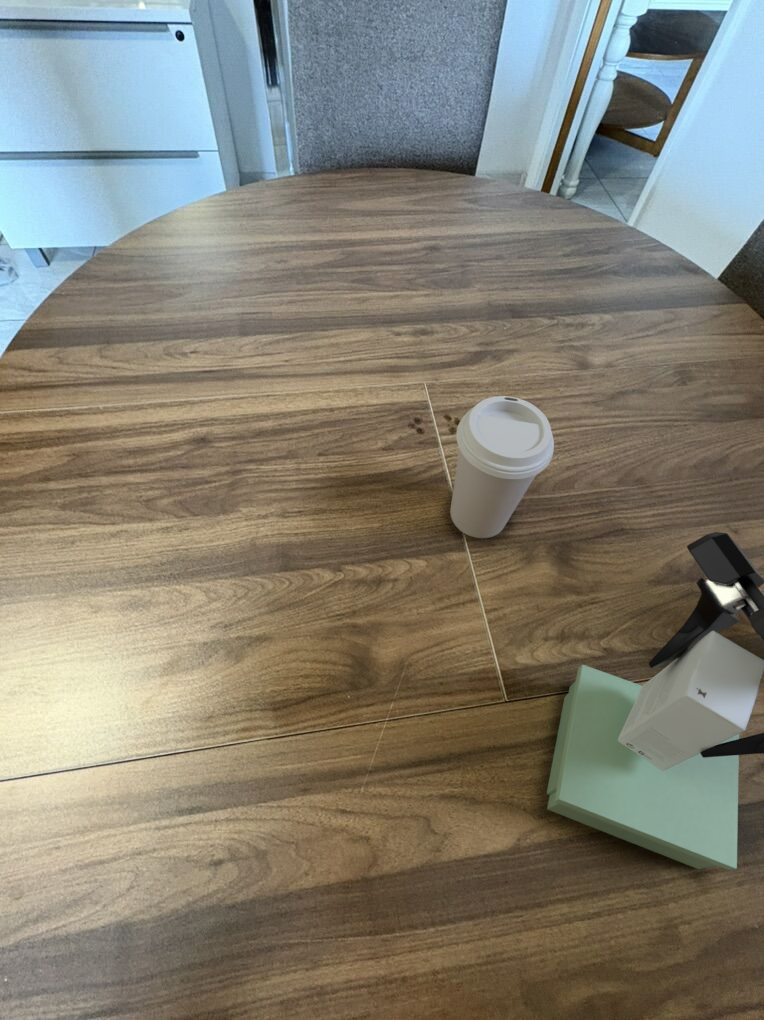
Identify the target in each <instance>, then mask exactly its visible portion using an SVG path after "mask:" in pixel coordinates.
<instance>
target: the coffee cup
mask: <svg viewBox="0 0 764 1020" xmlns="http://www.w3.org/2000/svg"><path fill="white" fill-rule="evenodd" d="M455 436H456V437H455V438H456V443H457V446H458V451H457V460H456V469H455V475H454V482H453V489H452V496H451V504H450V512H449V513H450V518H451V521H452V523H453V524H454V526H455V527H456V528H457V529H458V530H459V531H460V532H462V533H463V534H464V535H467V536H468V537H471V538H476V539H489V538H492V537H495V536H498V534H500V533H501V532H502V531H503V529H504V528H505V527H506V525H507V524H508V521H509V520H510V518H511V517H512V515H513V513H514V512H515V510H516V509H517V507H518V506H519V504H520V502H521V501H522V499H523V497H524V495H525V494H526V492H527V491H528V489H529V487H530V486H531V485H532V483H533V482H534V480H535V478H536V477H537V475H538V474H540V473H541V472H543V471H544V470H545V469H546V468H547V467H548V466H549V465H550V464H551V461H552V459H553V456H554V450H555V441H554V435H553V432H552V427H551V423H550V421H549V419H548V418H547V416H546V415H545V414H544V413H543V411H541V409H539V408H538V407H537V406H536V405H534V404H533V403H531V402H528V401H527V400H524V399H522V398H518V397H515V396H510V395H509V396H508V395H498V396H492V397H487V398H485V399H483V400H481V401H479V402H478V403H477V404H476V405H474V406H473V407H472V408H470V409H469V410H468V411H467V412H466V413H465V414H464V415H463V417H462V418H461V419H460V421H459V423H458V424H457V428H456V434H455Z"/></svg>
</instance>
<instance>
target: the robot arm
mask: <svg viewBox="0 0 764 1020" xmlns="http://www.w3.org/2000/svg"><path fill="white" fill-rule="evenodd" d="M686 548H687V550H688V552H689V553H690V555H691V556H692V558H693V559H694V561H695V562H696V564H697V565H698V567H699V568H700V570H701V571H702V572H703V574H704V576H706V579H704V578H702V577H700V578H699V579H698V580H697V581H696V586H697V587H698V588H699V590H700V593H701V594H700V597H699V599H698V601H697V604H696V606H695V608H694V609H693V611H692V612H691V614H690V615H689V617H688V618H687V620H686V621H685V622H684V623H683V625H682V626H681V627H680V628H679V630H678V631H677V632H676V633H675V634H674V635H673V636H672V637H671V638H670V639H669V640H668V641H667V642H666V643H665V645H664V646H663V647H662V648H661V649H660V650H659V651H658V652H657V653H656V654H655V655H654V657H653V658H651V660H650V661H649V662H648V667H649V668H650V669H654V670H655V669H658V668H660V667H662V666H665V665H667V664H670V663H672V662H673V661H674V660H676V659H677V658H679V657H680V656H681V655H682V654H683V653H684V652H686V651H687V650H688V649H689V648H691V647H692V646H693V645H695V644H696V643H697V642H698V641H700V640H701V639H702V638H703V637H705V636H706V635H707V634H709V633H710V632H711V631H716V632H717V633H719V634H721V633H722V632H725V631H726V630H727V629H728V630H729V628H731V627H733V626H734V625H736V624H738V623H739V622H741V620H740V618H739V617H738V616H737V613H739V614H742V613H743V614H744V615H745V616H746V618H747V619H748V621H749V623H750V624H751V627H752V629H753V630H754V632H755V633H756V634H757V636H760V638H761V639H762V641H764V593H763V592H762V590H761V589H760V588H761V586H764V577H763V576H762V574H761V573H760V572H759V571H758V569H757V568H756V566H755V565H754V564H753V562H752V561H751V560H750V559H749V558H748V556H747V555H746V553H745V552H744V550H743V549H742V548H741V546H740V545H739V544H738V543H737V542H736V540H734V539H733V538H732V537H731V535H729V534H728V533H727V532H721V531H714V532H710V533H707V534H704V535H703V536H701V537H700V538H698V539H696V540H694V541H693V542H691V543H689V544H687V545H686ZM700 754H701V756H702V757H703V758H706V757H719V756H733V755H739V756H745V755H759V754H760V755H761V754H764V732H761V733H757V734H752V735H749V736H746V737H745V736H744V737H742V738H739V739H737V740H733V741H729V742H725V743H721V744H718V745H715V746H713V747H711V748H708V749H706V750H704V751H701V752H700Z"/></svg>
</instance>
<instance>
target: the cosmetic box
mask: <svg viewBox="0 0 764 1020" xmlns="http://www.w3.org/2000/svg"><path fill="white" fill-rule="evenodd" d="M763 677H764V659H762V658H760V657H759V656H757V655H756V654H754V653H752V652H751V651H749V650H747V649H745V648H744V647H742V646H740V645H738V644H737V643H735V642H733V641H732V640H730V639H728V638H727V637H725V636H723V635H722V634H721V633H717V632H716V631H711V632H710V633H709V634H707V635H706V636H705V637H703V638H702V639H701V640H700V641H698V642H697V643H696V644H695V645H693V646H692V647H691V648H689V649H688V650H687V651H686V652H684V653H683V654H682V655H681V656H680V657H679V658H677V659H675V660H674V661H672V662H670V663H668V665H666V666H665V667H664V668H663V669H662V670H660V671H659V672H658V673H657V674H655V675H654V676H653V677H651V679H649V680H648V681H646V682H645V683H644V684H643V685H641V686H642V688H641V690H640V692H639V694H638V697H637V699H636V701H635V703H634V705H633V707H632V709H631V712H630V714H629V716H628V718H627V720H626V722H625V725H624V727H623V729H622V731H621V733H620V736H619V738H618V742H620V743H621V744H623V745H624V746H626V747H627V748H629V749H630V750H632V751H633V752H635V753H636V754H638V755H639V756H641V757H642V758H644V759H645V760H647V761H648V762H650V763H651V764H653V765H654V766H656V767H657V768H659V769H660V770H662V771H665V770H667V769H669V768H671V767H673V766H675V765H677V764H679V763H681V762H683V761H685V760H687V759H689V758H691V757H693V756H695V755H697V754H699V753H700V752H701V751H704V750H706V749H708V748H711V747H713V746H715V745H717V744H719V743H721V742H723V741H725V740H727V739H729V738H731V737H733V736H735V735H737V734H739V735H740V734H741V733H743V732H745V731H746V730H747V727H748V724H749V720H750V719H751V715H752V711H753V709H754V706H755V703H756V699H757V697H758V692H759V689H760V687H761V683H762V681H763Z"/></svg>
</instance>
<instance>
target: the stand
mask: <svg viewBox="0 0 764 1020" xmlns="http://www.w3.org/2000/svg"><path fill="white" fill-rule="evenodd" d="M642 686H643V685H641V684H639V683H636V682H633V681H630V680H627V679H624V678H623V677H622V678H621V677H620V676H616V675H613V674H611V673H609V672H605V671H602V670H600V669H597V668H594V667H591V666H588V665H586V664H581V666H579V667H578V668H577V674H576V679H575V681H574V682H573V683H572V684H571V685H570V686H569V690H568V693H567V694H566V695H565V696H564V698H563V704H562V709H561V714H560V720H559V725H558V729H557V735H556V742H555V747H554V751H553V752H554V753H553V757H552V762H551V768H550V774H549V777H548V784H547V788H546V794H547V795H549V797H548V802H547V809H546V810H547V811H551V812H553V813H554V814H555V813H556V814H558V815H560V816H563V817H565V818H568V819H570V820H573V821H575V822H579V823H580V824H583V825H586V826H588V827H590V828H593V829H596V830H597V831H600V832H603V833H607V835H611V836H613V837H615V838H617V839H621V840H623V841H625V842H629V843H631V844H634V845H636V846H639V847H642V848H643V849H646V850H648V851H651V852H654V853H656V854H659V855H662V856H664V857H667V858H669V859H671V860H674V861H676V862H678V863H682V864H684V865H686V866H689V867H692V868H694V869H696V870H701V869H706V868H713V867H719V868H722V869H724V870H726V871H733V870H737V869H738V827H739V826H738V823H739V821H738V819H739V817H738V816H739V767H740V764H739V762H740V761H739V759H740V755H733V756H719V757H706V758H703V757H702V756H701V754H700V753H699V754H697V755H695V756H693V757H691V758H689V759H687V760H685V761H683V762H681V763H679V764H677V765H675V766H673V767H671V768H669V769H667V770H665V771H662V770H660V769H659V768H657V767H656V766H654V765H653V764H651V763H650V762H648V761H647V760H645V759H644V758H642V757H641V756H639V755H638V754H636V753H635V752H633V751H632V750H630V749H629V748H627V747H626V746H624V745H623V744H621V743H620V742H618V738H619V736H620V733H621V731H622V729H623V727H624V725H625V722H626V720H627V718H628V716H629V714H630V712H631V709H632V707H633V705H634V703H635V701H636V699H637V697H638V694H639V692H640V690H641V688H642ZM737 739H740V733H739V734H737V735H735V736H733V737H731V738H729V739H727V740H725V741H723V742H721V743H725V742H729V741H733V740H737ZM721 743H719V744H721ZM717 745H718V744H717Z"/></svg>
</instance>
